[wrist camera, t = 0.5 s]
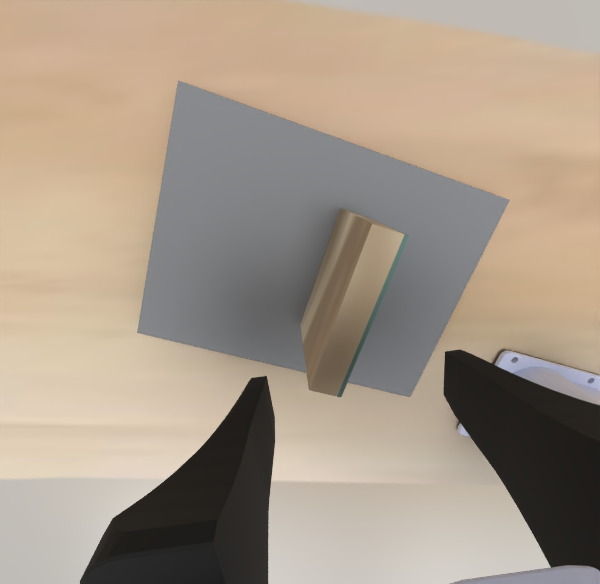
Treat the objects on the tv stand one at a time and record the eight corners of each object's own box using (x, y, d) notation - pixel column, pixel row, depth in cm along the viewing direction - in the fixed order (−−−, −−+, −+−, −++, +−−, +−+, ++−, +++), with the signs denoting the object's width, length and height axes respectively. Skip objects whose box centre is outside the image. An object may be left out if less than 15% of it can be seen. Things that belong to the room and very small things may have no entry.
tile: (364, 215, 19) (409, 235, 13) (322, 330, 22) (341, 397, 15) (340, 207, 19) (371, 223, 12) (300, 324, 21) (309, 390, 15)
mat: (503, 199, 20) (509, 200, 19) (406, 392, 24) (409, 397, 24) (181, 83, 17) (178, 80, 16) (141, 328, 21) (137, 332, 21)
